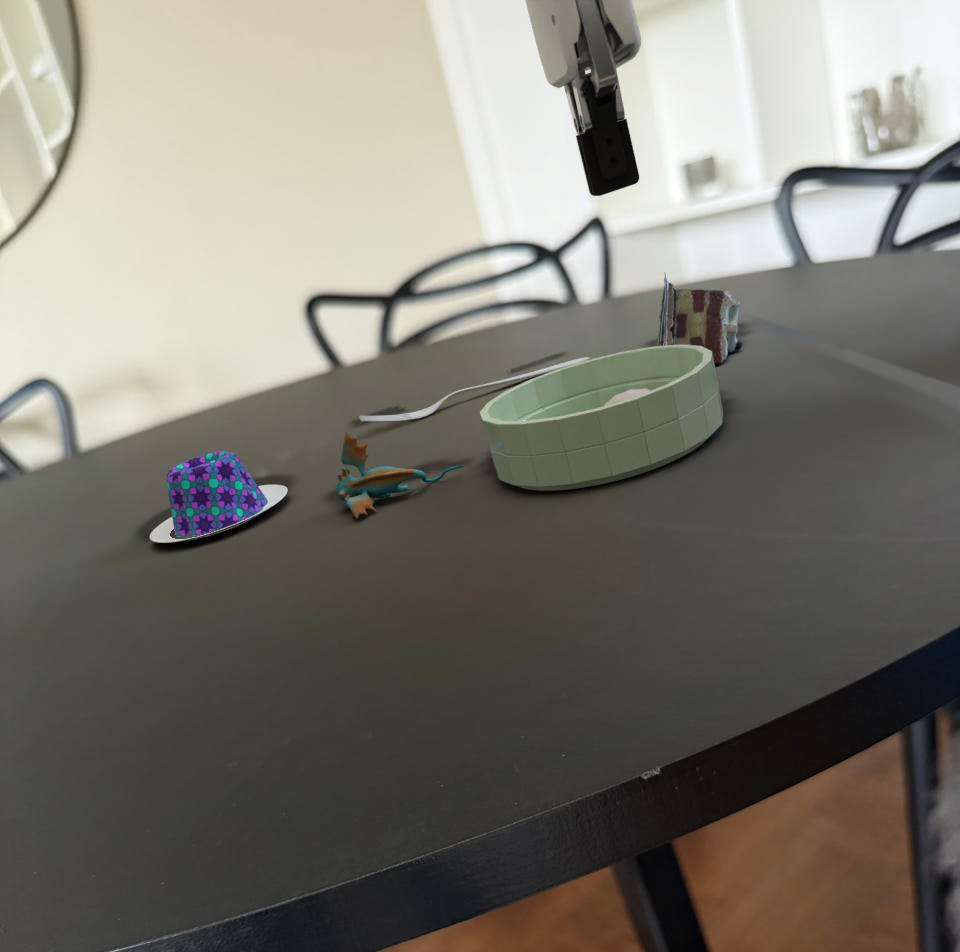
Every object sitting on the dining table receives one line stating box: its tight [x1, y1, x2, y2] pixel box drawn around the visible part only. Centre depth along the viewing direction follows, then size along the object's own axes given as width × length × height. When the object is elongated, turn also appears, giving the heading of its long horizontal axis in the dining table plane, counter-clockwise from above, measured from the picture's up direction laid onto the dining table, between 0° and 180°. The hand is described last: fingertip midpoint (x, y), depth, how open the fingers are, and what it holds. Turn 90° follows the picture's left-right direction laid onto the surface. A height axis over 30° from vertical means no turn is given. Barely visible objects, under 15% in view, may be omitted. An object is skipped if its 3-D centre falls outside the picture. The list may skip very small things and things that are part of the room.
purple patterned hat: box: [149, 450, 288, 544], centre depth 85 cm, size 12×12×5 cm
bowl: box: [479, 344, 724, 492], centre depth 72 cm, size 16×16×5 cm
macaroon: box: [605, 388, 651, 406], centre depth 75 cm, size 4×5×2 cm
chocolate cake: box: [656, 273, 743, 365], centre depth 91 cm, size 10×7×12 cm
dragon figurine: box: [335, 431, 464, 519], centre depth 77 cm, size 6×7×8 cm
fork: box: [358, 356, 591, 423], centre depth 102 cm, size 3×24×2 cm, turn 105°
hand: (615, 189), depth 70 cm, fingers closed
